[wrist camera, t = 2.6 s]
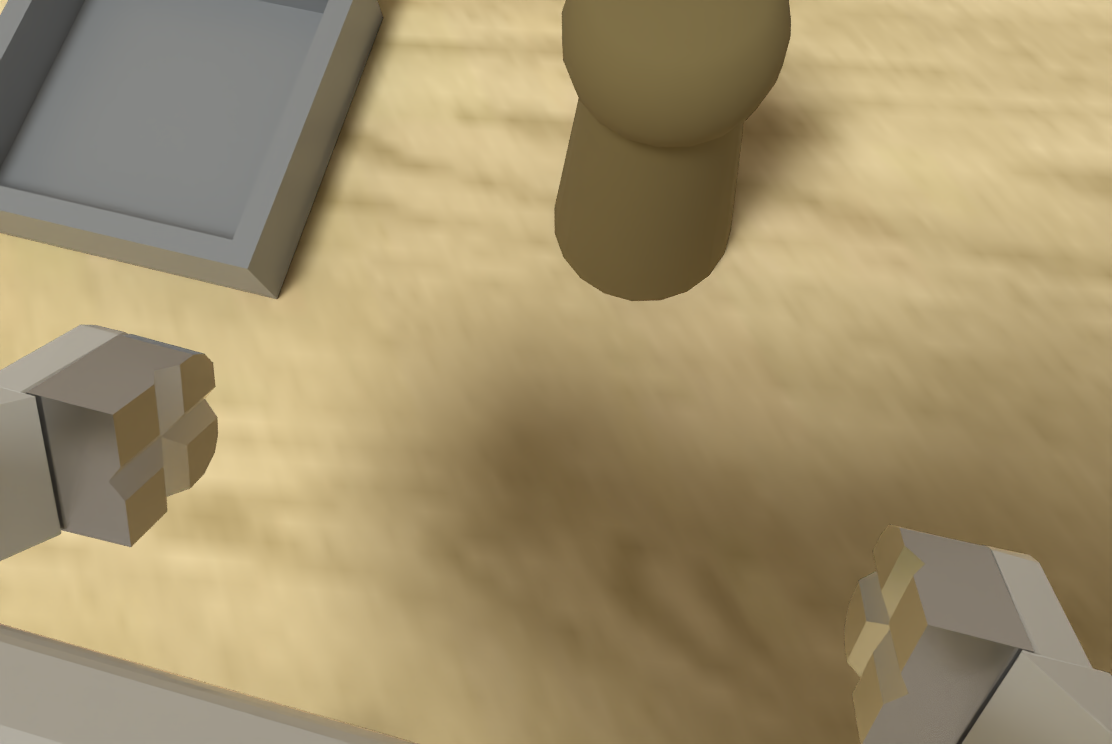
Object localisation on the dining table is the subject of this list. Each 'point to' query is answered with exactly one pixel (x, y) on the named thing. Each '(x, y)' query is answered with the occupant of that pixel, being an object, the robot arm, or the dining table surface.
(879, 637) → the robot arm
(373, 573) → the dining table surface
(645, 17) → the pepper shaker
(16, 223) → the shaker tray
